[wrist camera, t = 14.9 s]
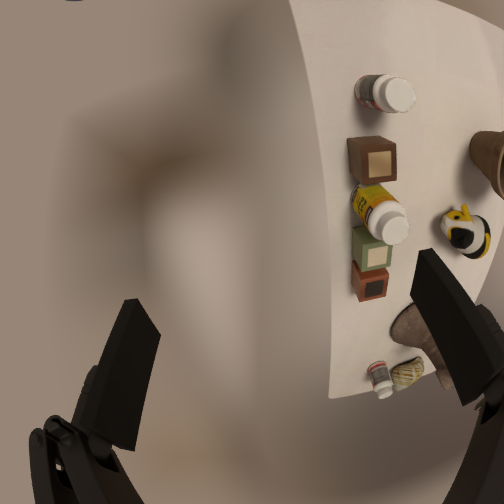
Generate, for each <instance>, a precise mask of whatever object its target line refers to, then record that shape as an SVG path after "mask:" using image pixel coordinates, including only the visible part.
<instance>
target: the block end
mask: <svg viewBox="0 0 504 504" xmlns="http://www.w3.org/2000/svg"><path fill="white" fill-rule="evenodd" d="M388 279H389V273H388V271H387V270H386V268H385V267H384V268H380V269H375V270H370V271H365V272H361V270H360V268H359V266H358V264H357V262H356V261H352V280H351V283H352V286H353V288H354V291H355V293H356V295H357V298H358V300H359V302H363V301H367V300H372V299H376V298H380V297H385V296H386V292H387V285H388Z"/></svg>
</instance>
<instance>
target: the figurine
mask: <svg viewBox="0 0 504 504" xmlns="http://www.w3.org/2000/svg"><path fill="white" fill-rule="evenodd" d="M461 210H462V212H461V211H451V212H449V213H447V214H445V215H444V216H443V218H442V220H441V229H442V231H443V233H444V234H445V236H446V237H448V239H449V241H450V243H451V244H452V246H453V247H454V248H456V249H457V250H459V251H460V252H461V253H462V254H463V255H464V256H466V257H468V258H470V259H478V258H481V257H483V256H484V255H485V254H486V253H487V251H488V249H489V246H490V240H491V235H490V228H489V225H488V223H487V222H486V220H485V219H483V218H482V217H480V216H477V215H472V216H470V214H469V210H468V207H467V205H465V204H463V205H462V206H461Z"/></svg>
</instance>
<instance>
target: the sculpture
mask: <svg viewBox="0 0 504 504" xmlns="http://www.w3.org/2000/svg"><path fill="white" fill-rule="evenodd" d="M391 336H392V339H393V341H394V342H396V343H399V344H403V345H407V346H411V347H416V348H420V349H422V350H423V351H424V352H425V353H426V355H427V356H428V357H429V359H430V360H431V362H432V363H433V365H434V366H435V368H436V370H437V371H436V375H437V377H438V378H439V381H440V383H441V385H442V387H443V389H445V390H450V389H451V388H452V386H453V384H454V383H453V381H452V378H451V376H450V374H449V371H448V369H447V367H446V365H445V362H444V360H443V358H442V356H441V354H440V352H439V349H438V347H437V345H436V343H435V341H434V339H433V337H432V335H431V333H430V331H429V329H428V327H427V325H426V323H425V322H424V320H423V318H422V316H421V314H420V312H419V310H418V309H417V307H416V305H415V303H414V304H412V305H411V306H409V307H408V308H407V309H406V310H404V311H403V312H402V313H401V314H400V315H399V316H398V318H397V319H396V321H395V322H394V324H393V326H392V328H391Z"/></svg>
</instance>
